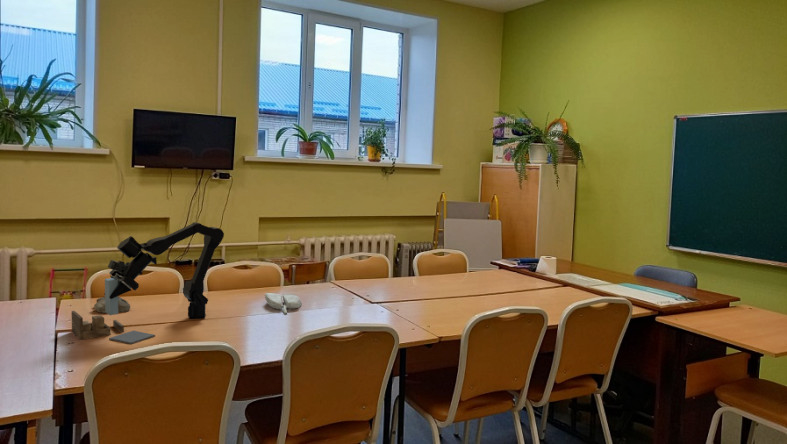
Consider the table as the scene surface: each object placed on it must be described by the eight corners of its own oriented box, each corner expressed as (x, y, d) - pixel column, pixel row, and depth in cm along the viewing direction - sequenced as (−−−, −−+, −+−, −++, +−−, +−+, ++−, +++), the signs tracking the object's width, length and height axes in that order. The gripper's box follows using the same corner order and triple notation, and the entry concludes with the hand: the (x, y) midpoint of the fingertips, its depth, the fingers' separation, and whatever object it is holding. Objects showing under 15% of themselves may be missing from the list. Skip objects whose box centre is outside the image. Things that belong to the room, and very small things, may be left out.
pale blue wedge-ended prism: (113, 310, 226) (113, 278, 225) (118, 314, 222) (117, 280, 220) (105, 311, 224) (104, 278, 223) (109, 315, 220) (109, 281, 218)
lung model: (300, 301, 282) (305, 319, 258) (264, 302, 278) (266, 321, 254) (300, 288, 281) (306, 305, 257) (264, 289, 276) (266, 306, 253)
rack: (115, 325, 230) (114, 305, 229) (124, 332, 221) (124, 312, 220) (71, 331, 220) (71, 311, 219) (80, 339, 211) (79, 318, 210)
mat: (133, 332, 222) (133, 330, 222) (155, 336, 218) (155, 334, 218) (109, 339, 212) (109, 337, 212) (131, 344, 208) (131, 342, 208)
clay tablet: (94, 304, 262) (94, 314, 245) (94, 293, 262) (94, 303, 244) (128, 302, 269) (130, 312, 251) (128, 292, 269) (130, 301, 251)
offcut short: (87, 332, 220) (86, 320, 220) (90, 335, 216) (90, 323, 216) (78, 333, 218) (78, 321, 218) (81, 336, 214) (81, 325, 214)
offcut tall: (100, 330, 223) (100, 314, 223) (104, 333, 220) (104, 317, 219) (92, 331, 221) (92, 316, 221) (95, 334, 218) (95, 319, 217)
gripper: (114, 249, 230) (84, 279, 224) (129, 255, 216) (97, 288, 210) (135, 266, 236) (106, 296, 230) (151, 274, 222) (121, 306, 216)
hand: (107, 296), depth 221 cm, fingers closed on pale blue wedge-ended prism, 6 cm apart
